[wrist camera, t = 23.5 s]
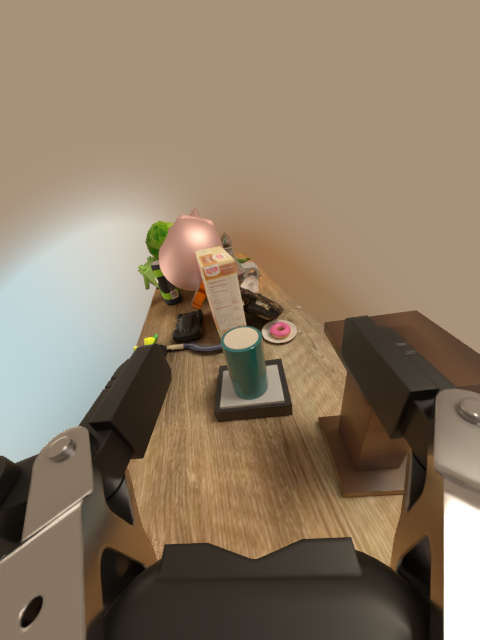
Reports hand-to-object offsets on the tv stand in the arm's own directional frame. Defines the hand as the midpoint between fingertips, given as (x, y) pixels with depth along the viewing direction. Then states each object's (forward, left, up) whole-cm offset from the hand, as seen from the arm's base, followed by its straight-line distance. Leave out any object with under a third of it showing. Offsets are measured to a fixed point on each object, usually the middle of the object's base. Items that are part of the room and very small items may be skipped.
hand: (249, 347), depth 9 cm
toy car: (+19, -42, -25) cm, 52 cm away
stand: (-12, -7, -25) cm, 28 cm away
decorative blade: (+17, -29, -23) cm, 41 cm away
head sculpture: (+23, -77, -12) cm, 82 cm away
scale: (+2, -18, -25) cm, 31 cm away
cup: (+2, -17, -22) cm, 28 cm away
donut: (-5, -35, -25) cm, 43 cm away
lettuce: (+30, -79, -13) cm, 85 cm away
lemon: (+27, -33, -24) cm, 49 cm away
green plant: (+44, -82, -14) cm, 94 cm away
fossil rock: (+5, -37, -17) cm, 41 cm away
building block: (+13, -46, -18) cm, 51 cm away
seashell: (0, -55, -26) cm, 61 cm away
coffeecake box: (+8, -40, -25) cm, 48 cm away
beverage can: (+29, -61, -25) cm, 73 cm away
